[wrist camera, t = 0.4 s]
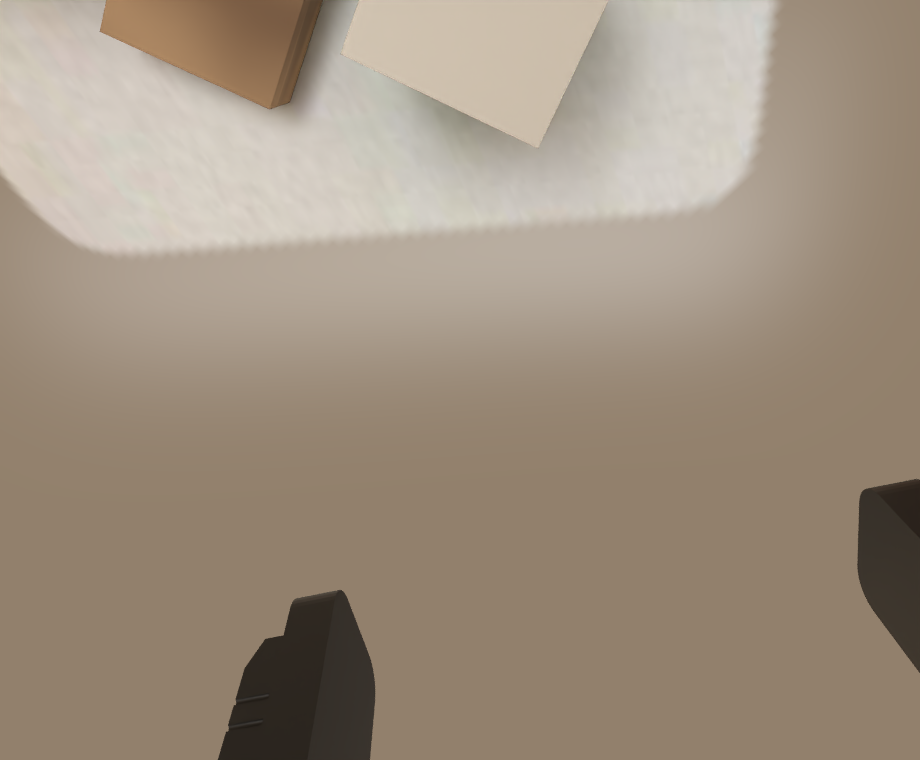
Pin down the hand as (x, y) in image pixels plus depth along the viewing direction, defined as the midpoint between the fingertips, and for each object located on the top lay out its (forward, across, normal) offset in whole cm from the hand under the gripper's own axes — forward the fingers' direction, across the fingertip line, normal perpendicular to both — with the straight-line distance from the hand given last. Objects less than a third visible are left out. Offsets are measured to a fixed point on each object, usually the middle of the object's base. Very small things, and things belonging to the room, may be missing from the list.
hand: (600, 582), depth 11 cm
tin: (+21, -1, -8) cm, 23 cm away
